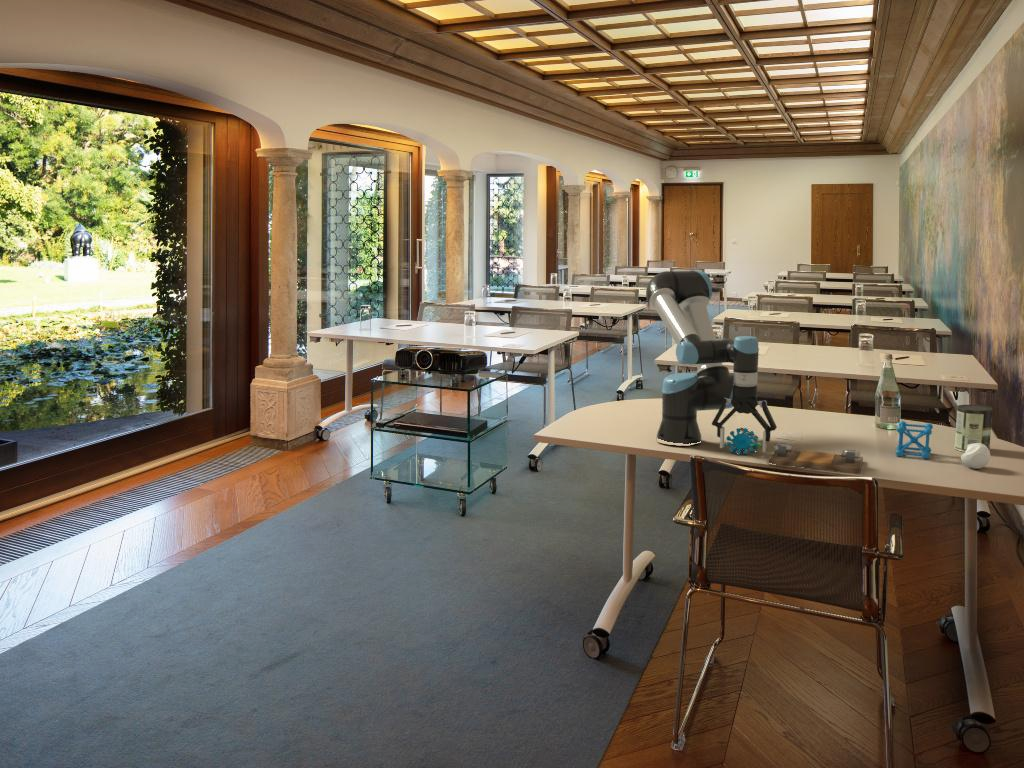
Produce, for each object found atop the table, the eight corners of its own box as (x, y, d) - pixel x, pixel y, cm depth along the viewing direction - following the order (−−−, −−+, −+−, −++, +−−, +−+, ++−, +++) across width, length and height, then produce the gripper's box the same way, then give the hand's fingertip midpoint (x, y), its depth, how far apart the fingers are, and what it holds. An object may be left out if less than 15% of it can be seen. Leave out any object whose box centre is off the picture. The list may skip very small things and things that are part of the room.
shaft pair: (773, 455, 269) (773, 445, 269) (775, 452, 273) (775, 442, 272) (858, 464, 258) (859, 453, 258) (859, 460, 262) (860, 450, 261)
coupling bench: (768, 464, 265) (768, 458, 264) (776, 453, 278) (776, 447, 278) (859, 473, 254) (859, 467, 253) (862, 461, 267) (863, 455, 267)
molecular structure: (894, 457, 272) (896, 426, 270) (897, 449, 280) (899, 420, 279) (929, 460, 267) (931, 429, 265) (931, 453, 276) (933, 422, 274)
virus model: (722, 448, 278) (731, 423, 283) (723, 458, 283) (731, 433, 287) (756, 457, 273) (764, 431, 278) (756, 466, 278) (765, 440, 283)
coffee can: (979, 445, 284) (982, 404, 281) (996, 453, 274) (999, 410, 271) (947, 446, 284) (950, 404, 282) (963, 454, 274) (966, 410, 271)
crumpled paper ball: (963, 463, 263) (965, 438, 262) (991, 467, 258) (993, 442, 257) (957, 469, 257) (959, 444, 256) (986, 473, 252) (988, 447, 251)
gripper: (703, 384, 277) (702, 447, 281) (783, 388, 267) (780, 455, 270) (708, 380, 284) (707, 442, 288) (787, 385, 273) (784, 449, 277)
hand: (743, 449), depth 279 cm, fingers open, 13 cm apart
